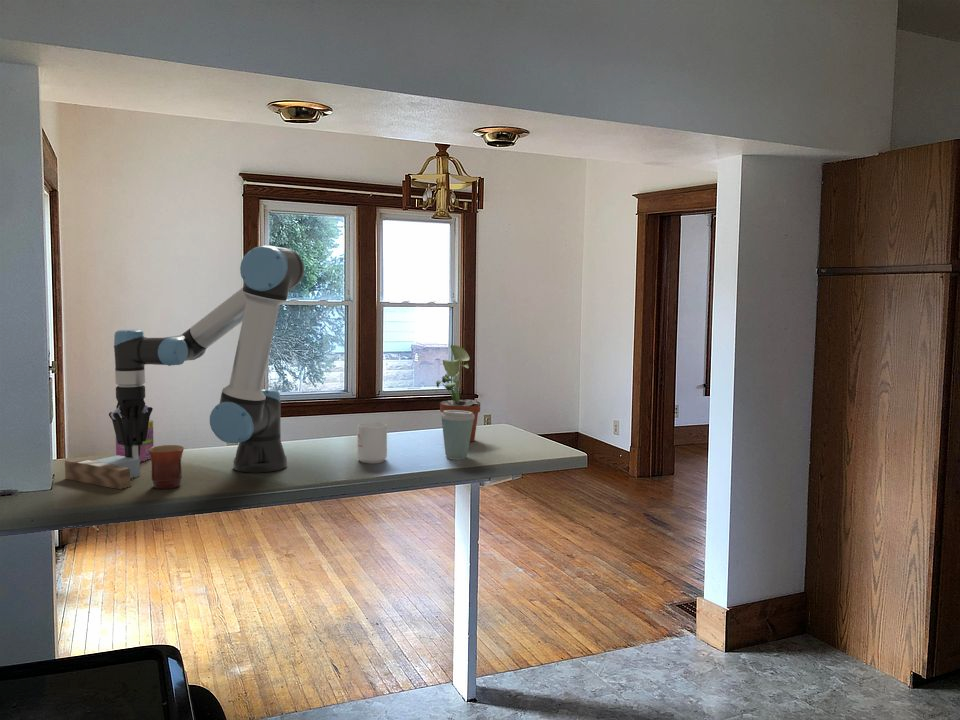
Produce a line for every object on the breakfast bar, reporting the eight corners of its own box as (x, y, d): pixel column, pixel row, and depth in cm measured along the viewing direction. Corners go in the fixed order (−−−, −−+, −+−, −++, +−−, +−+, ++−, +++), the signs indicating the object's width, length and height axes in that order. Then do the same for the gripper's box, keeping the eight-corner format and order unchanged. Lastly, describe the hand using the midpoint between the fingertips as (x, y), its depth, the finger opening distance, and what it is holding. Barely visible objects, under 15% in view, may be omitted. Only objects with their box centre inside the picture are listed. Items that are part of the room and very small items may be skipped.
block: (140, 476, 216) (139, 458, 216) (114, 482, 209) (114, 464, 209) (118, 472, 220) (117, 455, 220) (92, 478, 213) (92, 460, 213)
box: (133, 465, 228) (132, 426, 226) (115, 464, 229) (114, 425, 228) (154, 458, 238) (153, 420, 237) (138, 457, 239) (137, 419, 238)
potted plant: (429, 438, 274) (430, 338, 270) (469, 435, 280) (470, 338, 277) (447, 446, 260) (448, 342, 256) (488, 443, 266) (489, 341, 263)
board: (130, 486, 205) (129, 467, 204) (120, 489, 202) (120, 469, 202) (75, 476, 215) (74, 457, 214) (65, 478, 212) (64, 459, 211)
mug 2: (391, 461, 237) (392, 425, 236) (365, 465, 232) (365, 428, 231) (373, 454, 247) (373, 419, 246) (348, 457, 242) (348, 422, 241)
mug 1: (179, 490, 202) (178, 452, 200) (144, 491, 201) (143, 452, 200) (192, 479, 213) (191, 442, 212) (159, 479, 213) (158, 442, 212)
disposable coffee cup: (448, 452, 251) (448, 406, 249) (479, 455, 247) (480, 409, 246) (434, 459, 241) (435, 411, 240) (467, 462, 237) (467, 414, 236)
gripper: (140, 381, 224) (142, 462, 227) (100, 386, 213) (103, 471, 215) (159, 383, 221) (161, 465, 223) (119, 388, 209) (122, 474, 212)
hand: (132, 468), depth 219 cm, fingers closed
